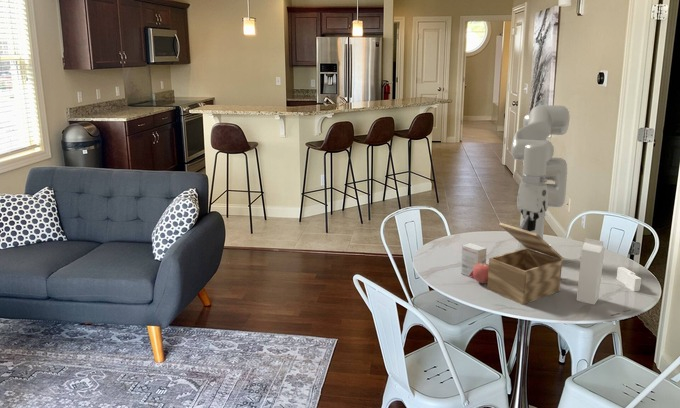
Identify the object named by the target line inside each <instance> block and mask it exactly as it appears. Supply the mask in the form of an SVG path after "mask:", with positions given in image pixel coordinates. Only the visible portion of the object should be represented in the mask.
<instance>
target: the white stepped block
mask: <svg viewBox="0 0 680 408" xmlns="http://www.w3.org/2000/svg"><path fill="white" fill-rule="evenodd" d="M616 280H617V281H619V282H620V283H622V284H624V285H625V286H624V287H625V288H626V289H629V290H631V291H633V292H640V290H641V284H642V283H641V282H642V278H641V277H639V276H638V275H637V274H636V273H635V272H634V271H632V270H630V269H628V268H626V267H625V266H619V267H617V271H616Z"/></svg>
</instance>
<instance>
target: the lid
mask: <svg viewBox="0 0 680 408" xmlns="http://www.w3.org/2000/svg"><path fill="white" fill-rule="evenodd" d="M529 220H530V216H529V215H526V217H525V219H524V221H523V222H522V224H521V226H520V225H519V227H517V226H513V225H509V224H506V223H503V222H499V224H498V225H499V226H500V227H502V229H504V231H506V232H507V233H508V234H509V235H511V237H513V238H514V239H515V240H516V241H518V243H519V242H520V243H521V244H522V245H523V246H525V247H526V248H528V249H531V250H534V251H537V252H540V253H543V254H546V255H549V256H552V257H554V258H557V259H560V260H562V261H563V260H564V257H563V256H562V255H561V254H560V253H559V252H557V250H556V249H555V248H553V247H552V245H551V244H550V243H548V242H547V241H546V240H545V239H544V238H543V239H542V238H541V237H540V236H539V235H538V234H536V233H533V232H531V231H528V222H529ZM549 244H550V245H551V246H550V245H549Z"/></svg>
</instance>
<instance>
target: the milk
mask: <svg viewBox="0 0 680 408" xmlns="http://www.w3.org/2000/svg"><path fill="white" fill-rule="evenodd" d="M580 255H581V256H580V265H579V271H578V272H579V273H578V282H577V283H578V284H577V293H576V301H577V302H582V303H585V304H590V305H596V303H597V302H598V300H599V298H600V290H601V283H602V282H601V281H602V273H603V266H604V265H603V264H604V258H605V257H604V255H605V246H604V241H602V240H598V239H591V238H584V243H583V245H582V248H581V254H580Z"/></svg>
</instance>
